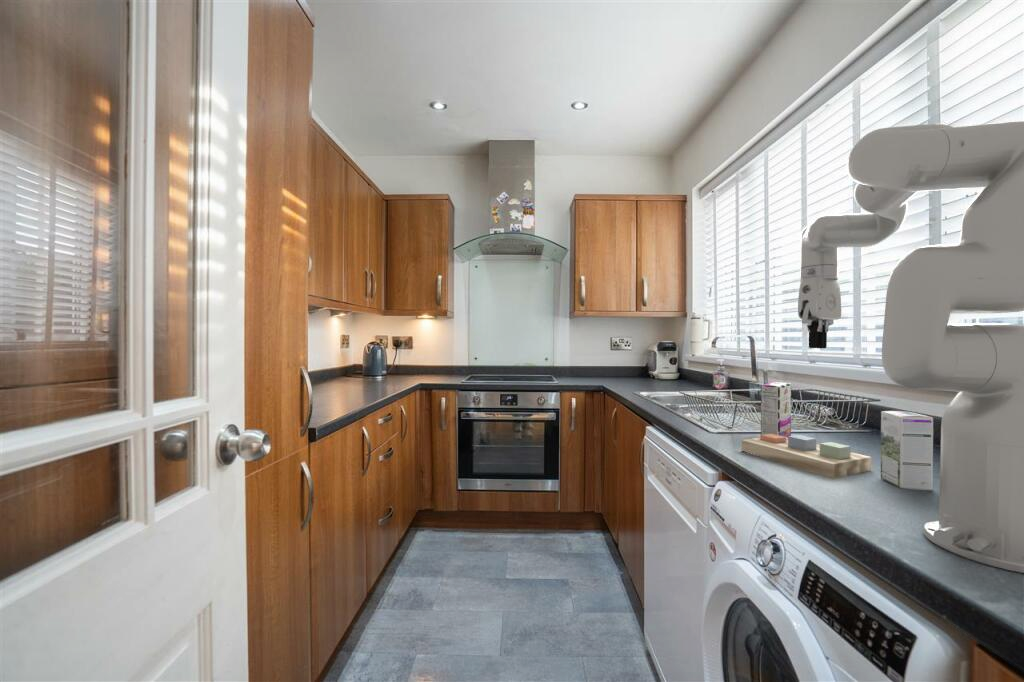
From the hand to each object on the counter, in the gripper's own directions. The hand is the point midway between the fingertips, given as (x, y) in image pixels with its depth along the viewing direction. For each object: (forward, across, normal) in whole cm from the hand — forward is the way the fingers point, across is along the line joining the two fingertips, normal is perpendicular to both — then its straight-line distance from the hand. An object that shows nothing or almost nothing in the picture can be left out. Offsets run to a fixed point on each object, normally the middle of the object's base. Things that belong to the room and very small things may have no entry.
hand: (817, 348), depth 99 cm
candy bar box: (+27, +6, +14) cm, 31 cm away
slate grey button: (+25, -7, -1) cm, 26 cm away
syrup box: (+27, -4, -19) cm, 34 cm away
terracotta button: (+26, -7, +6) cm, 27 cm away
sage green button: (+25, -7, -8) cm, 27 cm away
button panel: (+27, -7, -1) cm, 28 cm away
